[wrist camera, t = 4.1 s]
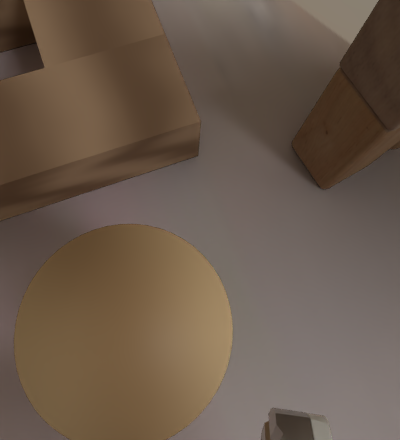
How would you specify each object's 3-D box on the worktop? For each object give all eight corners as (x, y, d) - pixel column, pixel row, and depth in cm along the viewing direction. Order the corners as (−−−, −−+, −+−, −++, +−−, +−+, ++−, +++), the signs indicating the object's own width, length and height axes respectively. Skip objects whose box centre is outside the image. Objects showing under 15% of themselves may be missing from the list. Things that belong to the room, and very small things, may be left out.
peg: (187, 262, 20) (191, 194, 8) (217, 342, 19) (268, 398, 7) (108, 291, 19) (-11, 263, 7) (134, 375, 18) (43, 494, 6)
